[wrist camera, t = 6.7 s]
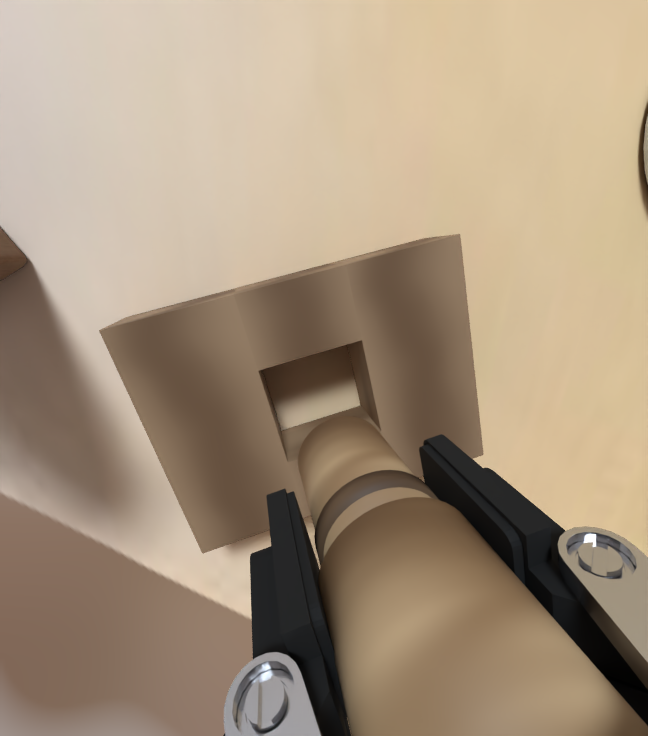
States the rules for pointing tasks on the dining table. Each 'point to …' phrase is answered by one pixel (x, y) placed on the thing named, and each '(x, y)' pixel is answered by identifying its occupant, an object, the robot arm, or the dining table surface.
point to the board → (287, 343)
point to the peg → (435, 610)
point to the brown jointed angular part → (9, 256)
